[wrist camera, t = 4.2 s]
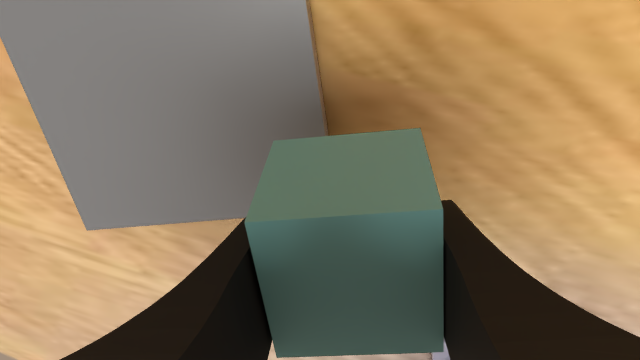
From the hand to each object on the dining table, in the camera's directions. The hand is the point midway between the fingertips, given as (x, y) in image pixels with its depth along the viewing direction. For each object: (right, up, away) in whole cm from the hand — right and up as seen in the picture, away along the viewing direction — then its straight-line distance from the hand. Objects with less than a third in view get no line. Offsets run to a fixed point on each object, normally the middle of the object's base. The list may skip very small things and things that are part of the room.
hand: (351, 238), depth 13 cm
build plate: (-7, +5, +8) cm, 12 cm away
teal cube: (0, +1, +1) cm, 2 cm away
